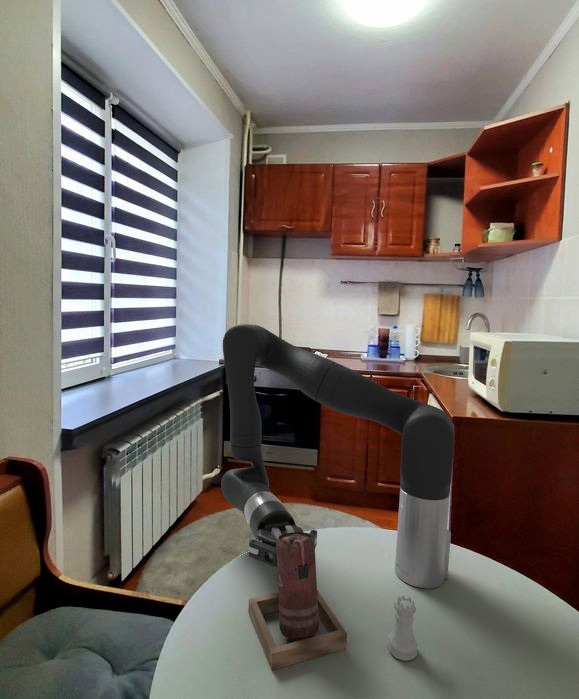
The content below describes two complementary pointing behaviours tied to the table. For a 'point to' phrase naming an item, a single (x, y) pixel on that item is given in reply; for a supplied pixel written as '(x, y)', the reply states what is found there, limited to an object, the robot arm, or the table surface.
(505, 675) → the table surface
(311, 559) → the can
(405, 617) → the rook chess piece
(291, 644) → the walnut collar
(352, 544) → the table surface
